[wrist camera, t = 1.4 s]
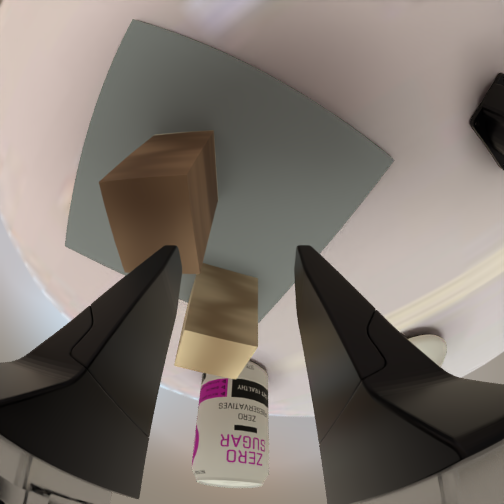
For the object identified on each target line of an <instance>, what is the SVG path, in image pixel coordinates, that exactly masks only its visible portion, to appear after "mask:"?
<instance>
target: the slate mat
mask: <svg viewBox="0 0 504 504" xmlns="http://www.w3.org/2000/svg"><path fill="white" fill-rule="evenodd" d="M208 130H214V139H215V156H216V172H217V187H218V203H217V207H216V211H215V214H214V218H213V222H212V226H211V230H210V234H209V239H208V243H207V247H206V251H205V255H204V259H203V263H205V264H208V265H212V266H215V267H219V268H222V269H226V270H230V271H233V272H237V273H240V274H244V275H248V276H251V277H255V278H258V323H259V322H260V321H261V320H262V319H263V318H264V316H265V315H266V314H267V313H268V312H269V311H270V310H271V309H272V308H273V307H274V305H275V304H276V303H277V302H278V301H279V300H280V299H281V298H282V296H283V295H284V294H285V293H286V292H287V291H288V290H289V289H290V287H291V286H292V285H293V284H294V283H295V277H294V265H295V255H296V247H297V246H298V245H310V246H312V247H313V248H314V249H315V250H316V251H317V252H318V253H319V254H320V253H321V252H322V250H323V249H324V248H325V247H326V246H327V244H328V243H329V242H330V241H331V240H332V238H333V237H334V236H335V235H336V234H337V232H338V231H339V230H340V229H341V228H342V226H343V225H344V224H345V223H346V221H347V220H348V219H349V218H350V217H351V215H352V214H353V213H354V212H355V210H356V209H357V208H358V207H359V205H360V204H361V203H362V202H363V200H364V199H365V198H366V197H367V195H368V194H369V193H370V191H371V190H372V189H373V188H374V186H375V185H376V184H377V182H378V181H379V180H380V179H381V177H382V176H383V175H384V173H385V172H386V171H387V169H388V168H389V167H390V166H391V164H392V163H393V162H394V159H393V158H391V157H390V156H389V155H388V154H386V153H385V152H384V151H383V150H382V149H380V148H379V147H378V146H376V145H375V144H374V143H373V142H371V141H370V140H369V139H367V138H366V137H365V136H363V135H362V134H361V133H359V132H358V131H357V130H355V129H354V128H353V127H351V126H350V125H348V124H347V123H346V122H344V121H343V120H341V119H340V118H338V117H337V116H336V115H334V114H333V113H331V112H330V111H328V110H327V109H325V108H324V107H322V106H320V105H319V104H317V103H316V102H314V101H313V100H311V99H309V98H308V97H306V96H305V95H303V94H301V93H300V92H298V91H296V90H295V89H293V88H291V87H290V86H288V85H286V84H284V83H283V82H281V81H279V80H277V79H276V78H274V77H272V76H270V75H268V74H266V73H264V72H263V71H261V70H259V69H257V68H255V67H253V66H251V65H249V64H247V63H245V62H243V61H241V60H239V59H237V58H235V57H232V56H230V55H228V54H226V53H224V52H222V51H219V50H217V49H215V48H212V47H210V46H208V45H205V44H203V43H201V42H198V41H196V40H193V39H191V38H188V37H185V36H183V35H180V34H177V33H174V32H172V31H169V30H166V29H163V28H160V27H157V26H154V25H151V24H148V23H144V22H141V21H137V20H134V19H133V20H132V22H131V24H130V26H129V27H128V29H127V31H126V33H125V36H124V38H123V40H122V42H121V44H120V46H119V48H118V50H117V53H116V55H115V57H114V59H113V62H112V64H111V66H110V69H109V71H108V74H107V76H106V79H105V81H104V84H103V87H102V89H101V92H100V95H99V98H98V100H97V103H96V106H95V109H94V112H93V115H92V118H91V122H90V125H89V128H88V132H87V135H86V139H85V142H84V146H83V150H82V154H81V158H80V162H79V166H78V170H77V175H76V179H75V184H74V189H73V194H72V200H71V206H70V212H69V218H68V225H67V233H66V241H65V246H66V247H68V248H70V249H72V250H74V251H76V252H78V253H80V254H82V255H84V256H86V257H88V258H90V259H92V260H94V261H96V262H98V263H100V264H102V265H104V266H106V267H108V268H110V269H112V270H115V271H117V272H119V273H121V274H123V275H125V276H126V275H127V274H128V273H125V271H124V269H123V266H122V263H121V260H120V256H119V253H118V250H117V247H116V244H115V241H114V237H113V234H112V231H111V227H110V224H109V220H108V217H107V213H106V209H105V205H104V202H103V198H102V194H101V190H100V185H99V181H100V180H101V179H103V178H104V177H105V176H106V175H107V174H108V173H109V172H110V171H111V170H113V169H114V168H115V167H116V166H117V165H118V164H119V163H121V162H122V161H123V160H124V159H125V158H126V157H128V156H129V155H130V154H131V153H132V152H134V151H135V150H136V149H137V148H139V147H140V146H141V145H142V144H144V143H145V142H146V141H147V140H149V139H150V138H151V137H152V136H154V135H157V134H167V133H178V132H191V131H208ZM195 277H196V274H182V278H181V285H180V292H179V299H180V300H183V301H185V302H188V301H189V298H190V294H191V291H192V287H193V284H194V280H195Z"/></svg>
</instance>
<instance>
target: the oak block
mask: <svg viewBox="0 0 504 504" xmlns="http://www.w3.org/2000/svg"><path fill="white" fill-rule="evenodd" d="M257 347H258V278H255V277H251V276H248V275H244V274H240V273H237V272H233V271H230V270H226V269H222V268H219V267H215V266H212V265H208V264H205V263H203V264H202V268H201V272H200V274H196V277H195V280H194V284H193V287H192V291H191V294H190V298H189V301H188V305H187V310H186V314H185V318H184V323H183V327H182V332H181V336H180V341H179V345H178V350H177V355H176V360H175V364H174V366H178V367H182V368H186V369H190V370H194V371H198V372H202V373H207V374H211V375H216V376H221V377H226V378H231V379H237V377H238V376H239V374H240V373H241V371H242V370H243V368H244V367H245V365H246V364H247V363H248V361H249V360H250V358H251V357H252V355H253V354H254V352H255V350H256V349H257Z"/></svg>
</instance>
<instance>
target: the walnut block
mask: <svg viewBox="0 0 504 504" xmlns="http://www.w3.org/2000/svg"><path fill="white" fill-rule="evenodd" d="M99 185H100V190H101V194H102V198H103V202H104V205H105V209H106V213H107V217H108V220H109V224H110V227H111V231H112V234H113V237H114V241H115V244H116V247H117V250H118V253H119V256H120V260H121V263H122V266H123V269H124V271H125V273H130V272H131V271H132V270H133V269H135V268H136V267H137V266H139V265H140V264H141V263H142V262H144V261H145V260H146V259H147V258H149V257H150V256H151V255H153V254H154V253H155V252H156V251H158V250H159V249H160V248H162V247H163V246H165V245H176V246H177V247H178V249H179V253H180V258H181V263H182V274H200V272H201V268H202V264H203V259H204V255H205V251H206V247H207V243H208V239H209V234H210V230H211V226H212V222H213V218H214V214H215V211H216V207H217V203H218V187H217V172H216V156H215V139H214V130H208V131H191V132H178V133H167V134H157V135H154V136H152V137H151V138H150V139H149V140H147V141H146V142H145V143H144V144H142V145H141V146H140V147H139V148H137V149H136V150H135V151H134V152H132V153H131V154H130V155H129V156H128V157H126V158H125V159H124V160H123V161H122V162H121V163H119V164H118V165H117V166H116V167H115V168H114V169H113V170H111V171H110V172H109V173H108V174H107V175H106V176H105V177H104V178H103V179H101V180H100V181H99Z"/></svg>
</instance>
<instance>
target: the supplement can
mask: <svg viewBox="0 0 504 504" xmlns="http://www.w3.org/2000/svg"><path fill="white" fill-rule="evenodd" d="M268 434H269V433H268V374H267V373H266V372H265V371H264V369H262V368H261V367H260V366H259V365H257V364H255V363H253V362H251V361H248V363H247V364H246V365H245V367H244V368H243V370H242V371H241V373H240V374H239V376H238V377H237V379H231V378H226V377H221V376H216V375H211V374H207V373H203V375H202V383H201V391H200V399H199V407H198V416H197V423H196V432H195V441H194V450H193V460H192V470H193V472H194V475H195V477H196V480H197V482H198V483H201V484H205V485H210V486H217V487H227V488H253V487H260V486H263V482H264V480H265V479H266V478H267V476H268V474H269V435H268Z"/></svg>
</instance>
